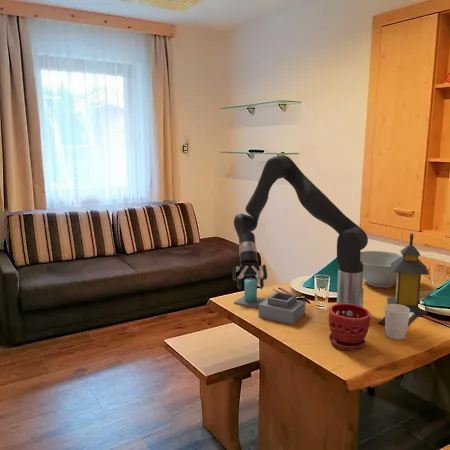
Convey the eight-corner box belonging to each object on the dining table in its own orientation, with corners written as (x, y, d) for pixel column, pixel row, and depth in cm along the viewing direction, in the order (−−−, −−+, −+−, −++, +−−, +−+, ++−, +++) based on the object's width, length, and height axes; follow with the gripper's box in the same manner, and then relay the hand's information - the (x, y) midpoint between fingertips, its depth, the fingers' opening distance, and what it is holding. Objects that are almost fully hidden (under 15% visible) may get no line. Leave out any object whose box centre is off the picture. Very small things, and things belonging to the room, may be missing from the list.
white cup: (396, 342, 151) (398, 314, 149) (378, 333, 158) (380, 306, 156) (412, 337, 154) (415, 309, 152) (394, 328, 161) (396, 302, 159)
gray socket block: (304, 313, 175) (305, 295, 174) (292, 324, 165) (292, 305, 164) (272, 306, 182) (272, 288, 181) (258, 316, 172) (258, 298, 171)
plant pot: (334, 354, 143) (335, 318, 141) (323, 336, 156) (324, 303, 153) (374, 353, 144) (377, 317, 141) (360, 335, 156) (362, 302, 154)
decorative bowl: (376, 271, 228) (378, 248, 226) (423, 286, 206) (425, 260, 203) (337, 280, 215) (339, 255, 212) (383, 297, 192) (385, 270, 190)
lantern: (388, 311, 177) (393, 236, 171) (387, 298, 191) (391, 229, 185) (427, 315, 173) (433, 238, 167) (423, 302, 186) (429, 231, 181)
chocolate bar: (377, 322, 165) (394, 308, 179) (377, 325, 165) (394, 310, 179) (403, 329, 160) (418, 313, 173) (402, 331, 160) (417, 315, 174)
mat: (266, 300, 189) (266, 299, 189) (255, 308, 181) (255, 306, 181) (245, 296, 194) (245, 294, 194) (234, 303, 186) (234, 302, 186)
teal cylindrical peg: (259, 299, 188) (259, 279, 187) (253, 303, 184) (253, 282, 182) (248, 297, 191) (248, 277, 189) (242, 301, 187) (241, 280, 185)
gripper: (232, 250, 191) (234, 284, 182) (265, 249, 191) (269, 284, 182) (231, 258, 197) (233, 292, 188) (263, 258, 198) (267, 292, 189)
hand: (251, 288), depth 185 cm, fingers open, 8 cm apart
